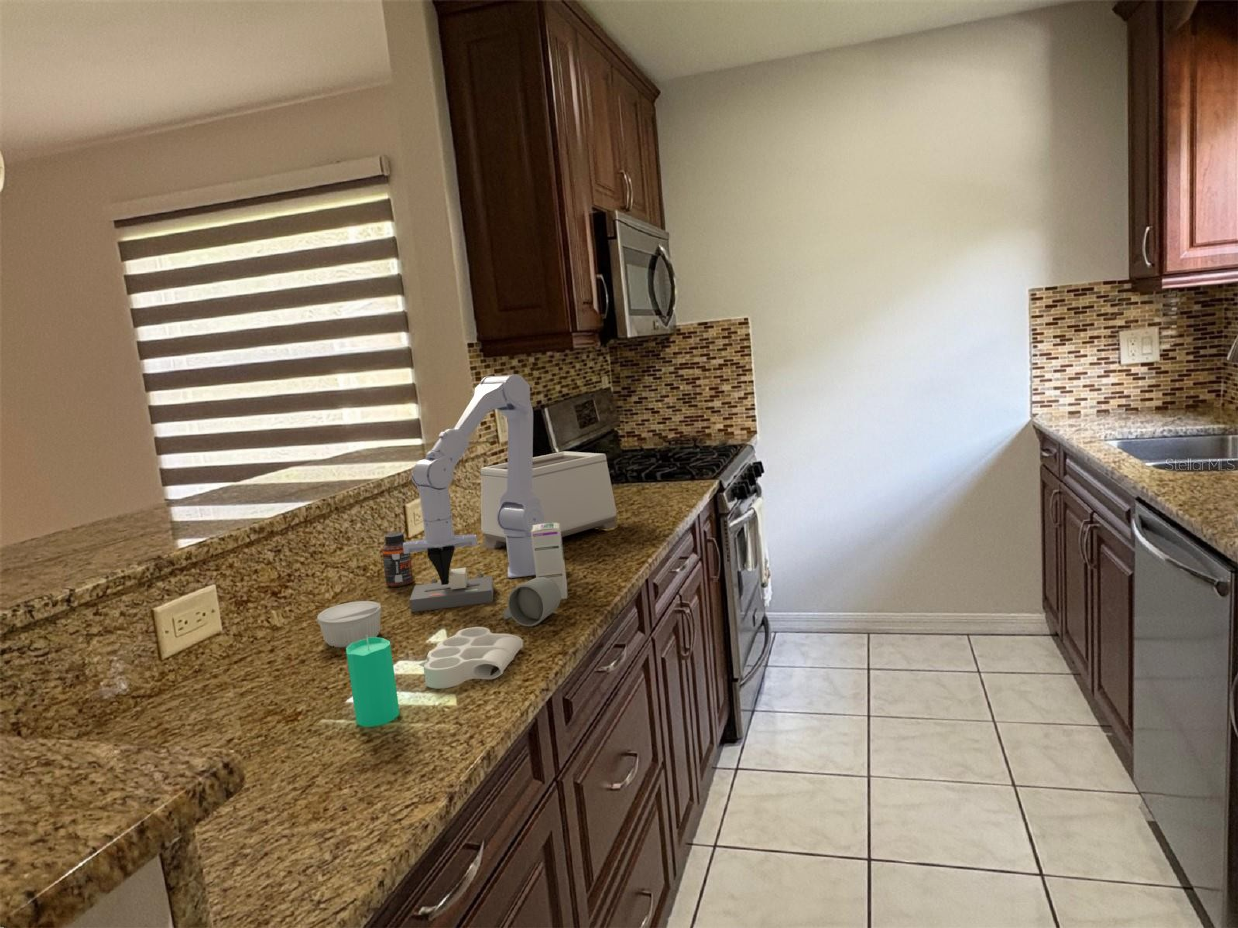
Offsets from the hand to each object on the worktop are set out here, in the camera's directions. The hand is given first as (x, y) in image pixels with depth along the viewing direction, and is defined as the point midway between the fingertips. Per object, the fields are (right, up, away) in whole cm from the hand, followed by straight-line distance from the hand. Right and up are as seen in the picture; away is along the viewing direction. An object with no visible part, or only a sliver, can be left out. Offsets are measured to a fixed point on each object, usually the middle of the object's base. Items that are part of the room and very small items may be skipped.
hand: (445, 583), depth 161 cm
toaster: (+19, +5, +49) cm, 52 cm away
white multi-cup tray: (+11, -8, -34) cm, 37 cm away
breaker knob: (+3, 0, 0) cm, 3 cm away
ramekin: (-13, -8, -17) cm, 23 cm away
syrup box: (+22, -2, -3) cm, 22 cm away
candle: (+2, -11, -50) cm, 51 cm away
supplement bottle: (-14, -3, +16) cm, 21 cm away
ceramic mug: (+19, -5, -15) cm, 25 cm away
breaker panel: (+1, -3, +5) cm, 6 cm away
